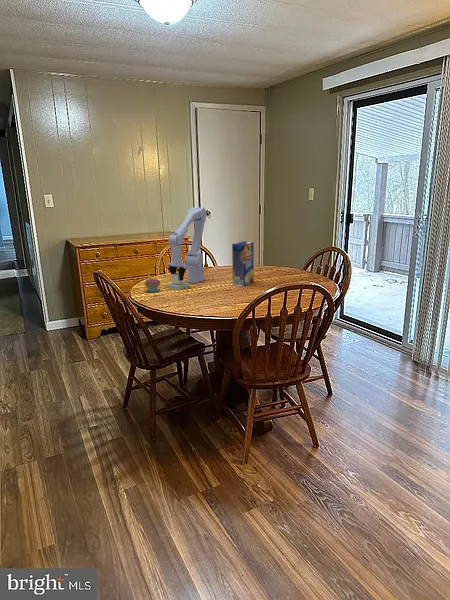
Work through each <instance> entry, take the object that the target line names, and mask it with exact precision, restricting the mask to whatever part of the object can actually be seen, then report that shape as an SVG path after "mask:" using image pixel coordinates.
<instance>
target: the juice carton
mask: <svg viewBox="0 0 450 600" xmlns="http://www.w3.org/2000/svg"><path fill="white" fill-rule="evenodd" d="M231 246H232V249H231V250H232V254H231V255H232V285H233V286H237V287H246V286H249V285H251V284H253V283H254V276H255V275H254V267H255V266H254V258H255V257H254V256H255V255H254V248H255V247H254V241H246V240H245V241H243V240H242V241H238V242H235V243H232V245H231Z"/></svg>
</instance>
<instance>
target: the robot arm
mask: <svg viewBox="0 0 450 600" xmlns="http://www.w3.org/2000/svg"><path fill="white" fill-rule="evenodd" d="M207 214H208V213H207V210H206V209H205V207H191V206H190V207H189V208H188V210H186V216H185V218H184V220H183V222H182V224H179V225H178V226H177V228H176V229H175V231H174V232H173V234H170V235H169V237H168V244H169V247H170V254H171V255H170V256H171V262H170V261H168V262H166V266H167V270H168V271H169V272H170V274H175V273H179V279H180V281H181V280H183V277H184V278H185V273H186V270H187V275H188V276H187V277H188V279H187V280H185V283H193V284H197V283H200V282H204V281H206V279H205V274H204V273H205V272H204V267H203V258H204V257H203V254H202V253H201V252H200V251H201V246H202V245H201V244H202V239H203V233H204V227H205V224H206V218H207ZM192 223H194V230H193V236H192V242H191V247H190V250H189V251H187V253H186V255H185V257H184V263H183V256H182V253H183V252H182V245H183V244H184V238H185V236H186V234H187V233H188V231H189V230H188V228H189V227H190V225H191V224H192Z"/></svg>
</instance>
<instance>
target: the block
mask: <svg viewBox="0 0 450 600" xmlns="http://www.w3.org/2000/svg"><path fill="white" fill-rule="evenodd" d="M170 274H171V273H170ZM170 276H171V277H170V279H171V283H174V284H180V283H185V276H184V277H183V280H181V281H180V279H179V273H178V272H176V273H175V274H171V275H170Z"/></svg>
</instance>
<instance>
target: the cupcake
mask: <svg viewBox="0 0 450 600" xmlns="http://www.w3.org/2000/svg"><path fill="white" fill-rule="evenodd" d="M147 275H148V279H146V281H144V286H145V287H146V288H147V291H148V292H149V293H157V292H158V290H159V286H160V285H161V281H160V280H159V279H157V278H151V276H150V275H151V274H150V272H149V270H147Z"/></svg>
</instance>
